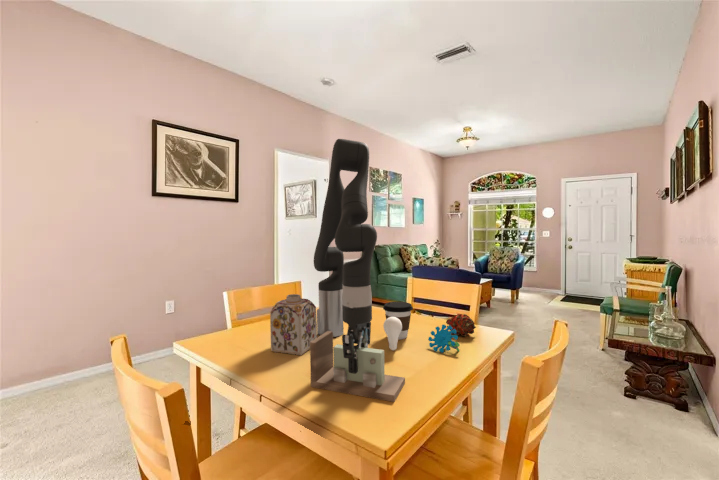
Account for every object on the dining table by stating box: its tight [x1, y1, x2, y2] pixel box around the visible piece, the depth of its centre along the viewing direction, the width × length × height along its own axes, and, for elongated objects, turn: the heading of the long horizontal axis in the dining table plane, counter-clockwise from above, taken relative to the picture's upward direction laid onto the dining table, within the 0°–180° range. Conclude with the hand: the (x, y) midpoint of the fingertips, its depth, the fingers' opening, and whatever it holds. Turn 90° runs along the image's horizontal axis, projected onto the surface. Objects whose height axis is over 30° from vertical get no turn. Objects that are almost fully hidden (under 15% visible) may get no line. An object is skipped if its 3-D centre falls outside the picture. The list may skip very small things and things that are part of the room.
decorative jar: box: [269, 293, 318, 356], centre depth 115 cm, size 12×12×18 cm
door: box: [333, 343, 386, 385], centre depth 86 cm, size 13×4×8 cm, turn 68°
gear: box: [428, 324, 461, 354], centre depth 112 cm, size 11×6×10 cm
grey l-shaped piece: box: [309, 331, 406, 403], centre depth 87 cm, size 22×10×12 cm, turn 68°
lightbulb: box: [382, 317, 402, 351], centre depth 112 cm, size 6×6×11 cm
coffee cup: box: [383, 301, 414, 340], centre depth 125 cm, size 11×11×12 cm
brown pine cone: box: [445, 313, 477, 337], centre depth 127 cm, size 8×8×12 cm
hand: (358, 367), depth 87 cm, fingers open, 6 cm apart
